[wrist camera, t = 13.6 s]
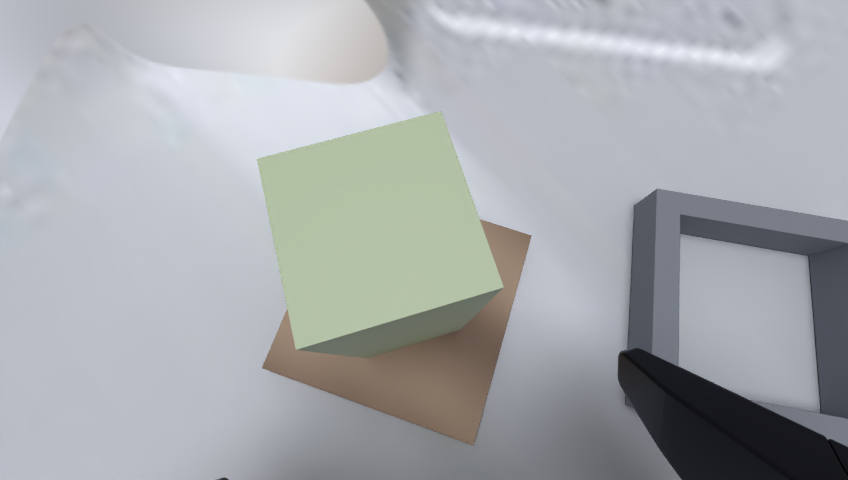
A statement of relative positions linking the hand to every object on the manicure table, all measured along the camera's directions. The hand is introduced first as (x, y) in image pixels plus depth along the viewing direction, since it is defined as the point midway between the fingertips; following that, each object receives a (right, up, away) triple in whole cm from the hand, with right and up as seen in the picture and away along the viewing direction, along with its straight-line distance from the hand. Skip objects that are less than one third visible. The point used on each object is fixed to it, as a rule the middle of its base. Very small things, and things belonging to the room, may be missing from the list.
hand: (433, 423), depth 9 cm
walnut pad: (-1, +1, +9) cm, 10 cm away
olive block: (-1, +2, +9) cm, 9 cm away
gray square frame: (+13, +1, +9) cm, 16 cm away
